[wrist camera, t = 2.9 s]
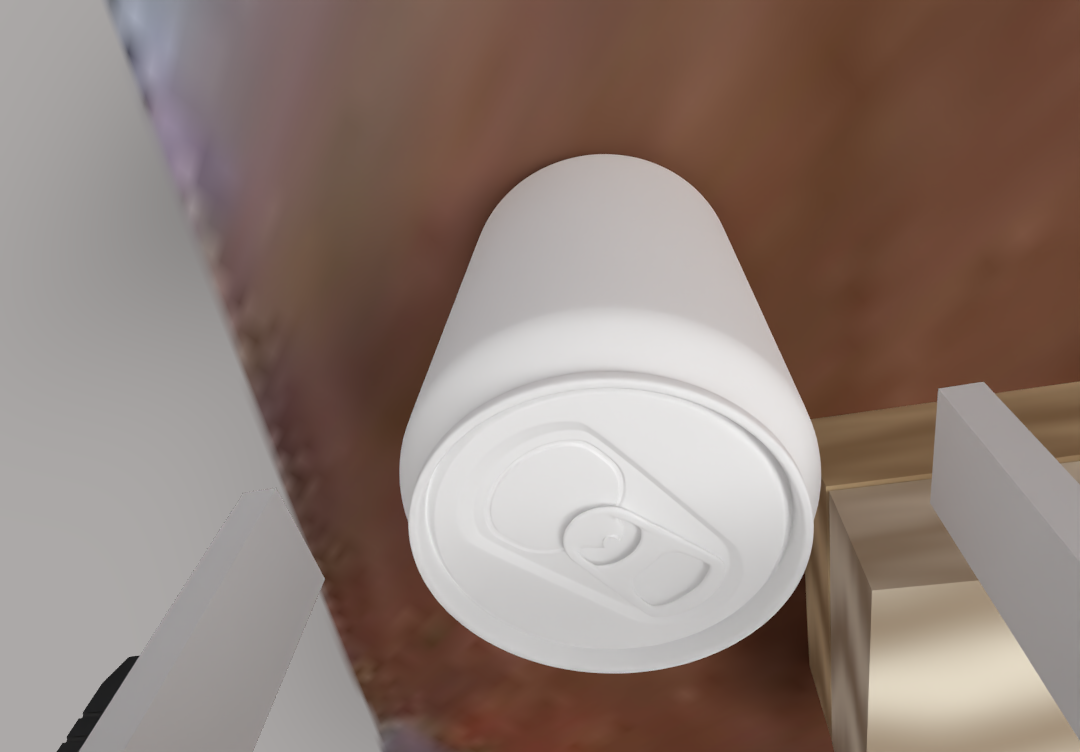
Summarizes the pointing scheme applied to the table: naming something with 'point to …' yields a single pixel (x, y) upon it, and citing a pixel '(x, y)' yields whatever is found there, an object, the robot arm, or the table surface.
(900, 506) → the top slab
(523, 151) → the table surface
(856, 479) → the bottom slab
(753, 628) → the beverage can
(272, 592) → the robot arm
